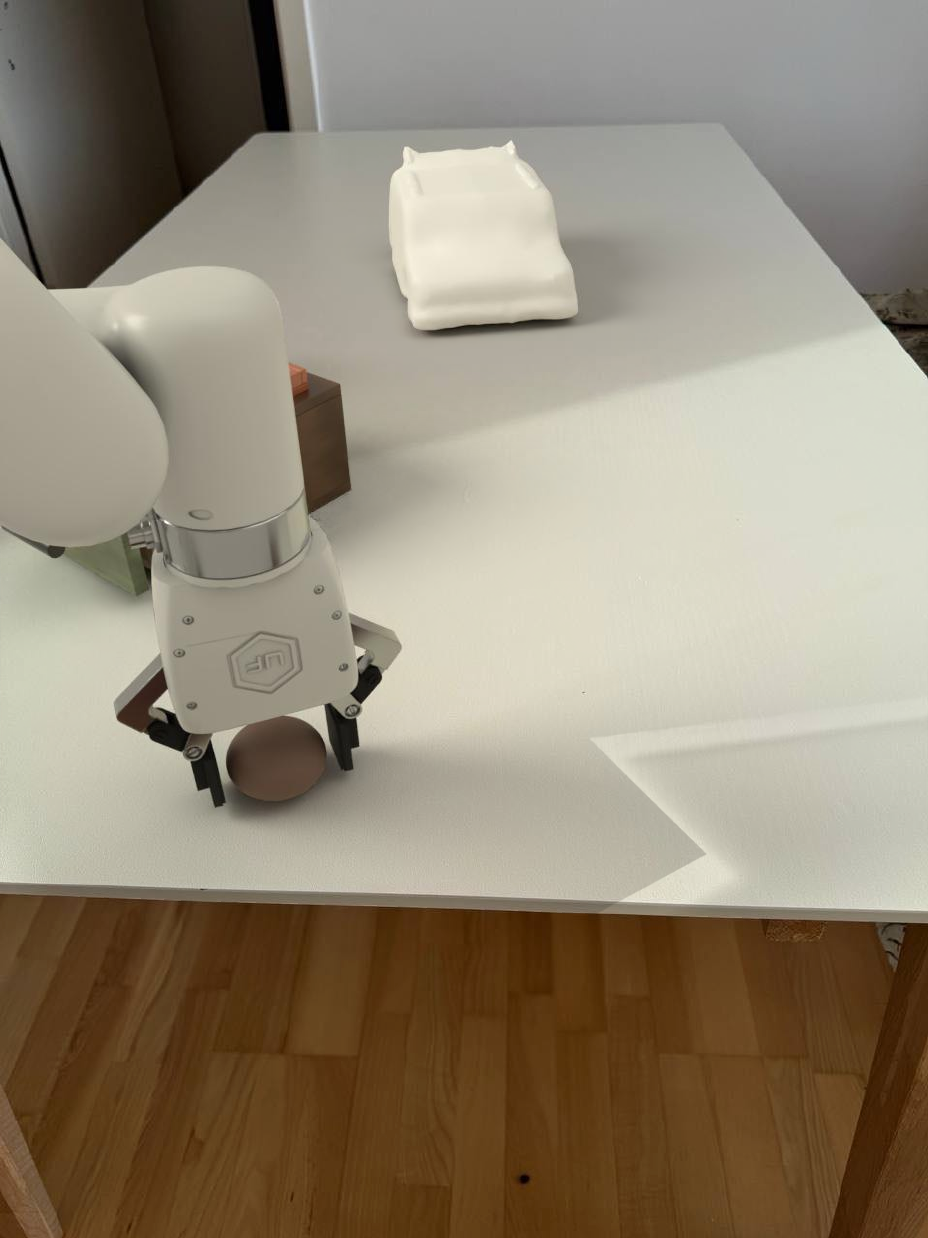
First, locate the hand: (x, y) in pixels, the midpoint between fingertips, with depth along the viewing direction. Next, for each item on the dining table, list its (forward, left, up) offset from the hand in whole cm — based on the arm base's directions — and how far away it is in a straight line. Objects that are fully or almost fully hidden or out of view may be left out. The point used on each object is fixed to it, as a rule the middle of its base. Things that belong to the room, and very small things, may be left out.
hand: (279, 771), depth 66 cm
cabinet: (+4, +34, -1) cm, 34 cm away
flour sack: (+41, +73, -1) cm, 84 cm away
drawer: (-5, +29, 0) cm, 29 cm away
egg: (0, 0, -1) cm, 1 cm away
